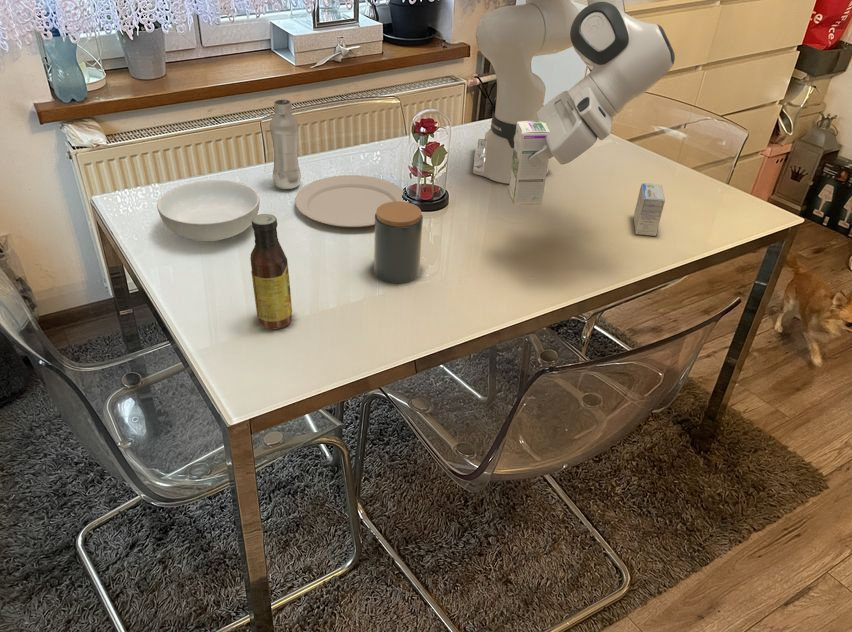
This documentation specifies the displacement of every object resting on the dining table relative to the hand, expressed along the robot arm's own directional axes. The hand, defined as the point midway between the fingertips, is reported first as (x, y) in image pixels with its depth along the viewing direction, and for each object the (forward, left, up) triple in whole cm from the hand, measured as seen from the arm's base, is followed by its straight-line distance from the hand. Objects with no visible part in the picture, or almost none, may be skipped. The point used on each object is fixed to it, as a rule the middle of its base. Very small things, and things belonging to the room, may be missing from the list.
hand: (527, 155), depth 137 cm
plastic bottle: (-33, -47, -22) cm, 62 cm away
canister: (+6, -24, -22) cm, 33 cm away
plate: (-22, -32, -22) cm, 45 cm away
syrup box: (0, +1, -9) cm, 9 cm away
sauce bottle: (+22, -47, -22) cm, 56 cm away
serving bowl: (-12, -62, -22) cm, 67 cm away
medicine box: (-11, +32, -22) cm, 40 cm away
